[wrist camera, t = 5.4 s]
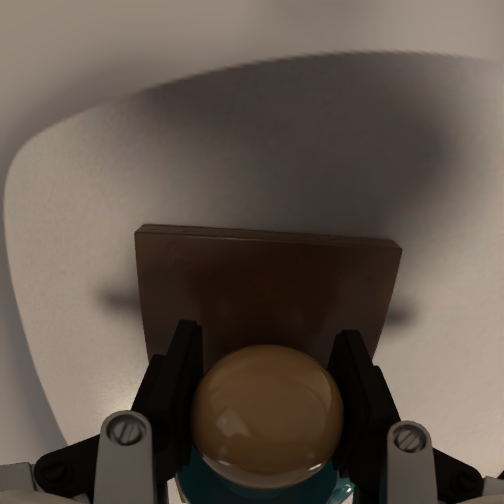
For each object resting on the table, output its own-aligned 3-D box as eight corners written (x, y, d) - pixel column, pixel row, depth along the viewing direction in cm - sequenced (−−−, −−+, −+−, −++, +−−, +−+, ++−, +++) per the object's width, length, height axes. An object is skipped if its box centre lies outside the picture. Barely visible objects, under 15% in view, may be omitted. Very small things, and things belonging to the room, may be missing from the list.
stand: (142, 224, 12) (133, 231, 11) (393, 240, 12) (403, 248, 11) (183, 492, 20) (181, 502, 19) (306, 498, 20) (307, 508, 19)
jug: (201, 471, 16) (175, 289, 10) (323, 474, 16) (411, 300, 10) (191, 553, 11) (114, 467, 4) (330, 553, 11) (487, 449, 4)
